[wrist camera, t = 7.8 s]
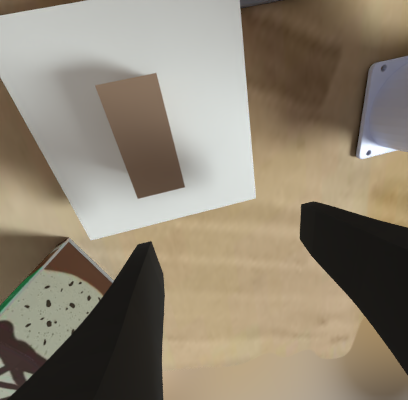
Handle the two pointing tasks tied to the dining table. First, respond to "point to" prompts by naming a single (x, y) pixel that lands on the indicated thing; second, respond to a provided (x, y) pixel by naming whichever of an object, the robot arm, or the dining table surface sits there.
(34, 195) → the dining table surface
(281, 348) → the dining table surface
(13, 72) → the cover sheet
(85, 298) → the food container
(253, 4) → the mat
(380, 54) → the dining table surface
